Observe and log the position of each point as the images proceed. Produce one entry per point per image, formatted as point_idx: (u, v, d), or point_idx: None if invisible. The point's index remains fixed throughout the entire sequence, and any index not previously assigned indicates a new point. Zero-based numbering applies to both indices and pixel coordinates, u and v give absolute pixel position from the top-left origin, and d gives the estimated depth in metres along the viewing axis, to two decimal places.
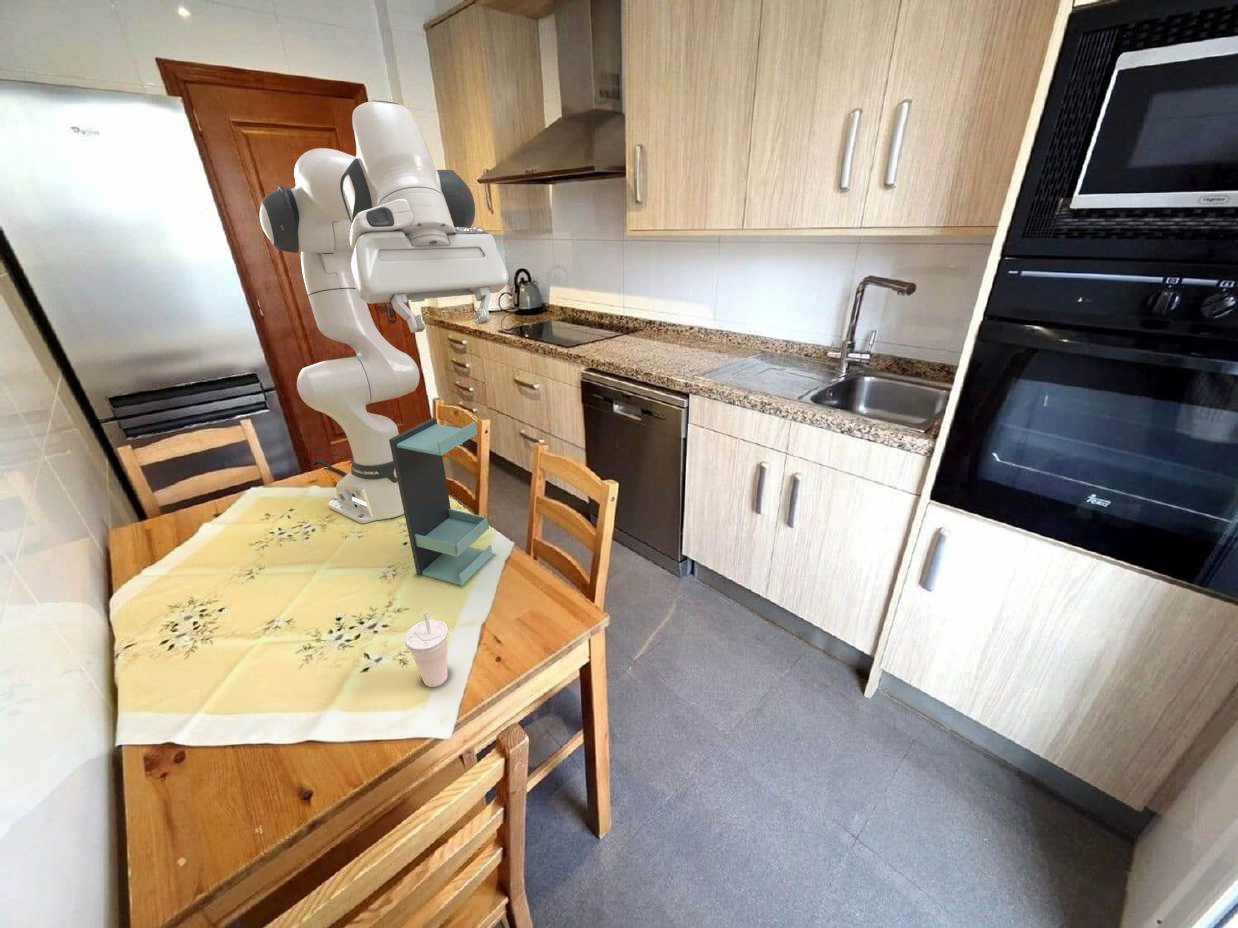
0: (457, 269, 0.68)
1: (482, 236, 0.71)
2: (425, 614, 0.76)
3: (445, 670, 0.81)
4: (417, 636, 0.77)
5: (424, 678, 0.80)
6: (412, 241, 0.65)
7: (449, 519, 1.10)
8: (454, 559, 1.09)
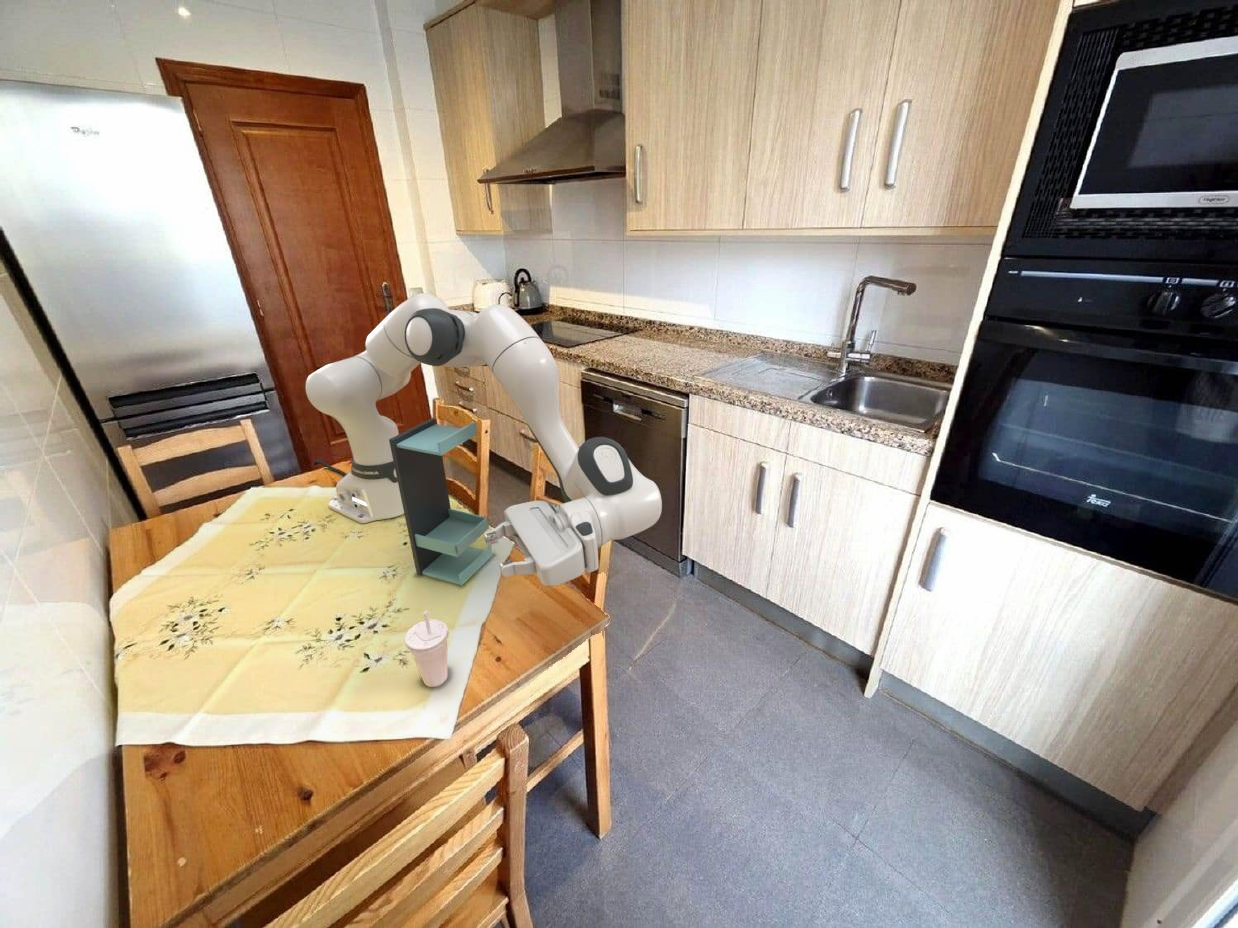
0: None
1: None
2: (425, 614, 0.76)
3: (445, 670, 0.81)
4: (417, 636, 0.77)
5: (424, 678, 0.80)
6: None
7: (449, 519, 1.10)
8: (454, 559, 1.09)
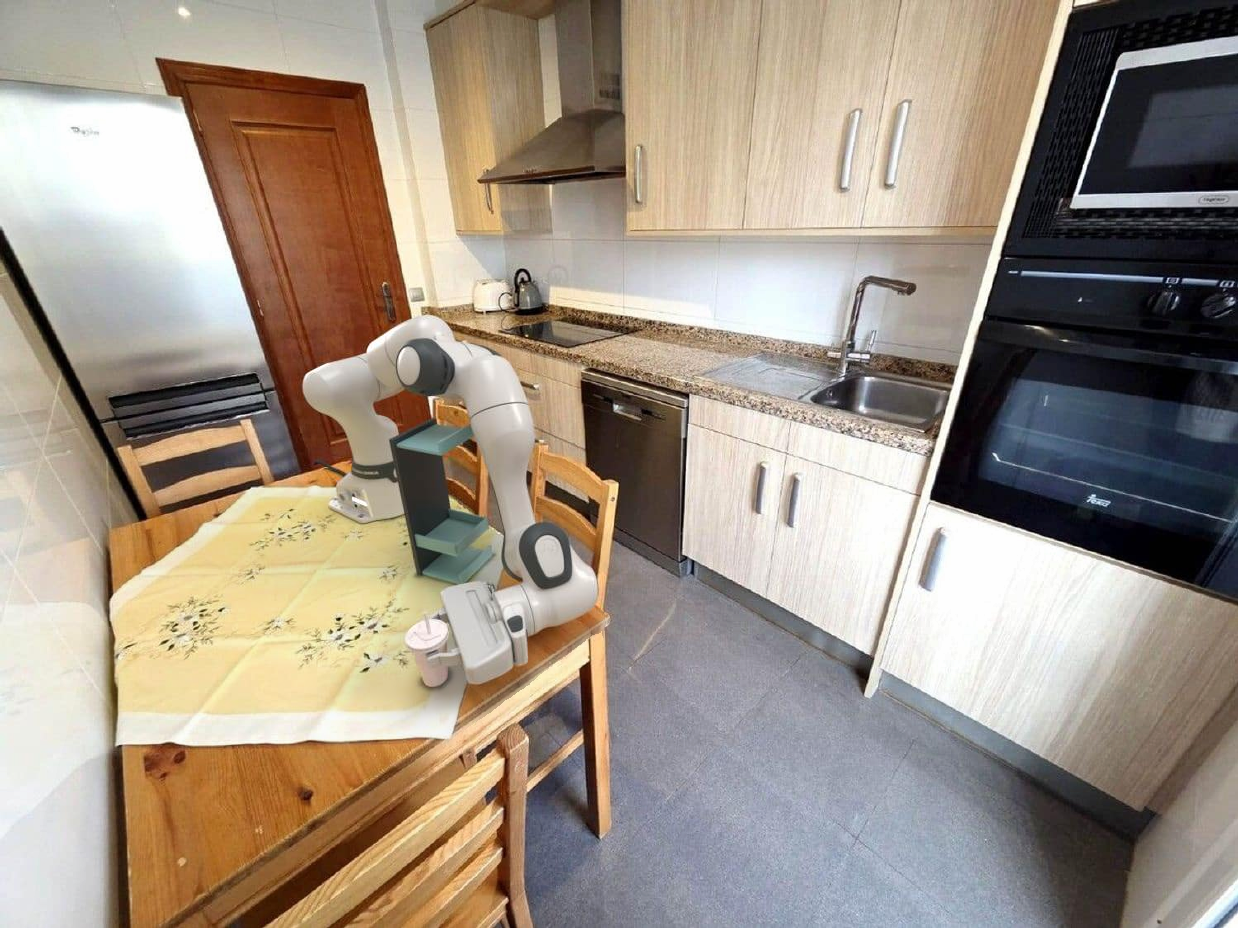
0: None
1: None
2: (425, 614, 0.76)
3: (445, 670, 0.81)
4: (417, 635, 0.77)
5: (424, 678, 0.80)
6: None
7: (449, 519, 1.10)
8: (454, 559, 1.09)
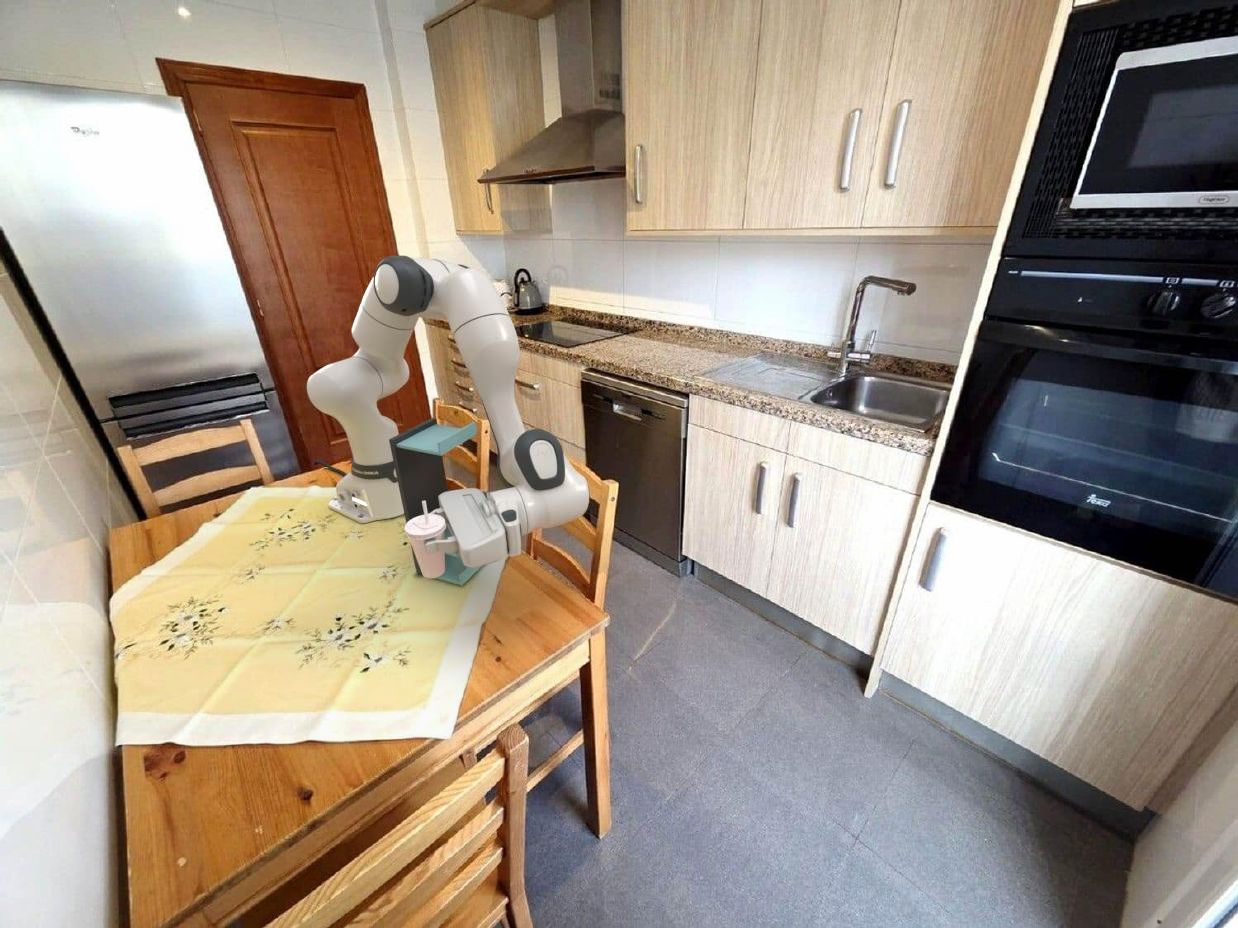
0: None
1: None
2: (423, 503, 0.80)
3: (443, 563, 0.85)
4: (416, 525, 0.81)
5: (423, 569, 0.84)
6: None
7: None
8: (454, 559, 1.09)
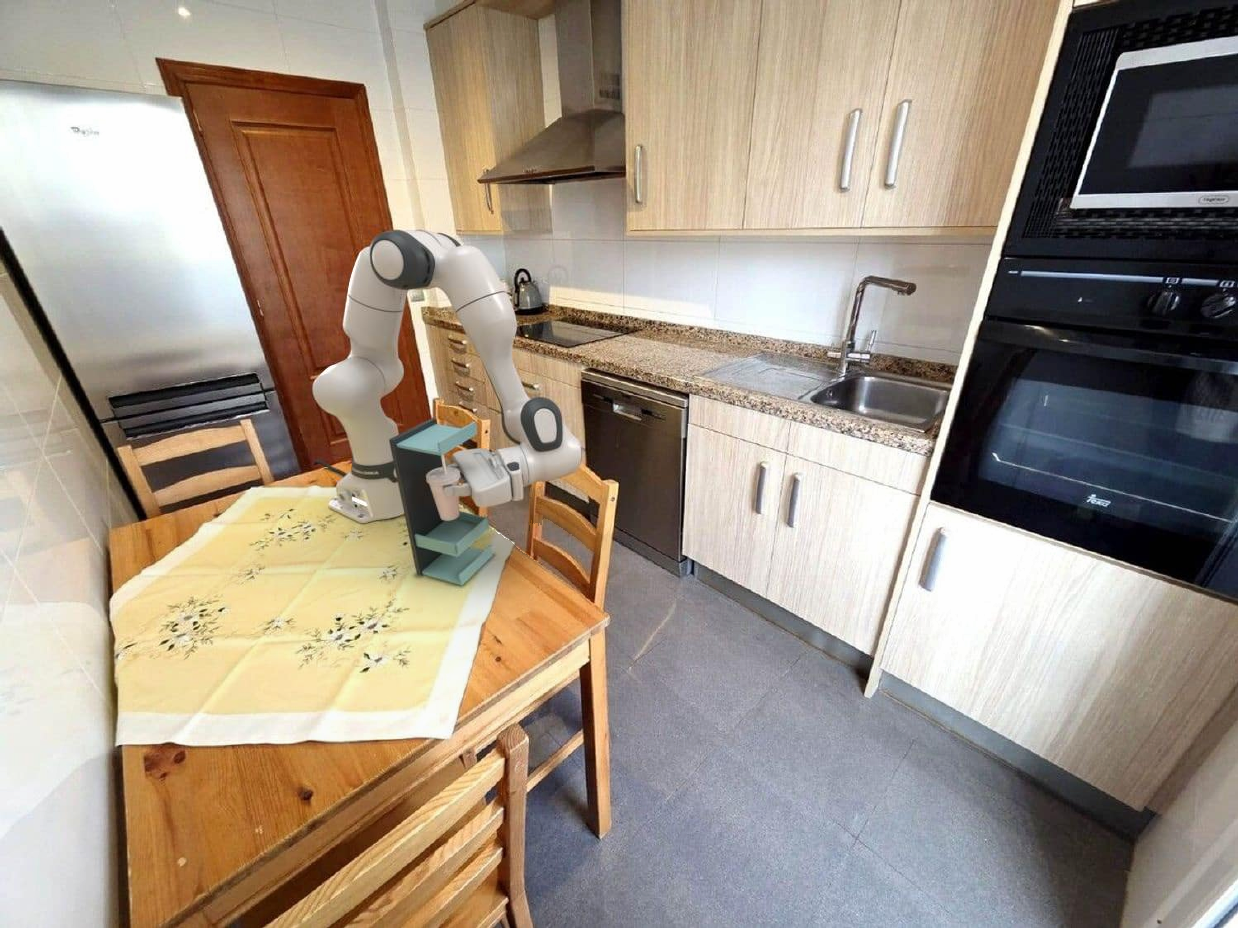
0: None
1: None
2: (442, 455, 0.96)
3: (457, 508, 1.01)
4: (436, 474, 0.98)
5: (441, 512, 1.00)
6: None
7: None
8: (454, 559, 1.09)
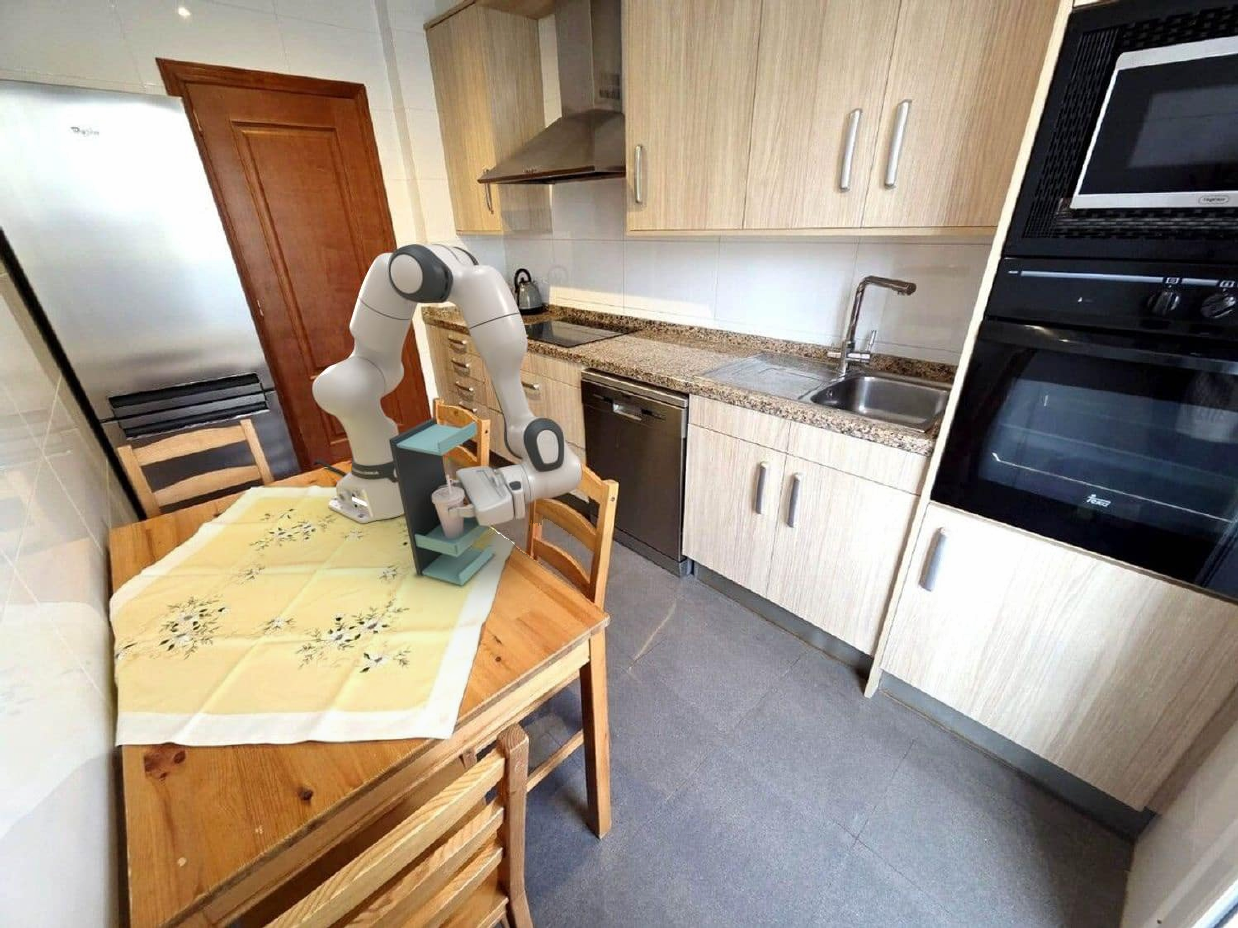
0: None
1: None
2: (447, 476, 0.99)
3: (462, 526, 1.04)
4: (441, 495, 1.00)
5: (445, 531, 1.03)
6: None
7: None
8: (454, 559, 1.09)
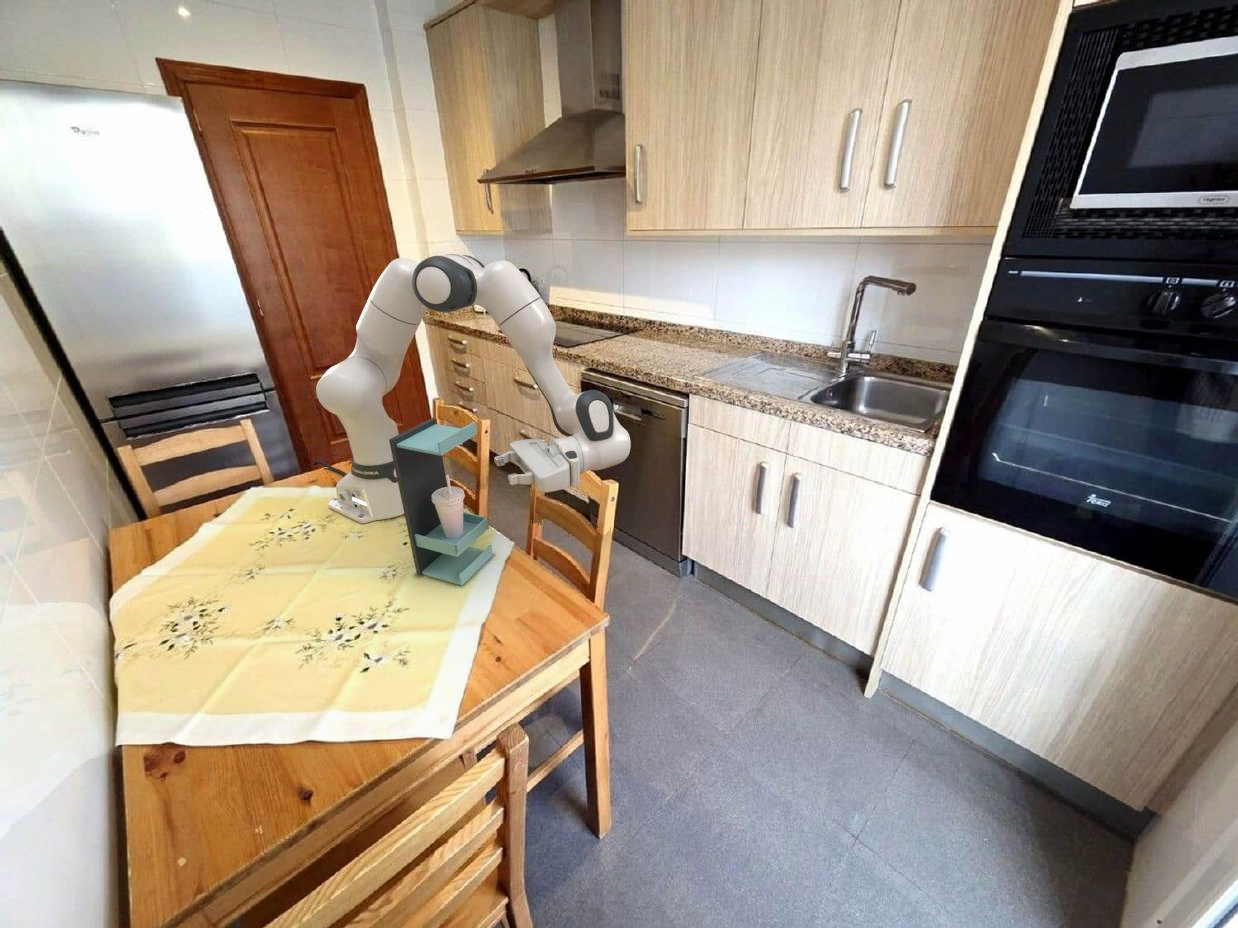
0: None
1: None
2: (447, 476, 0.99)
3: (462, 526, 1.04)
4: (441, 495, 1.00)
5: (445, 531, 1.03)
6: None
7: None
8: (454, 559, 1.09)
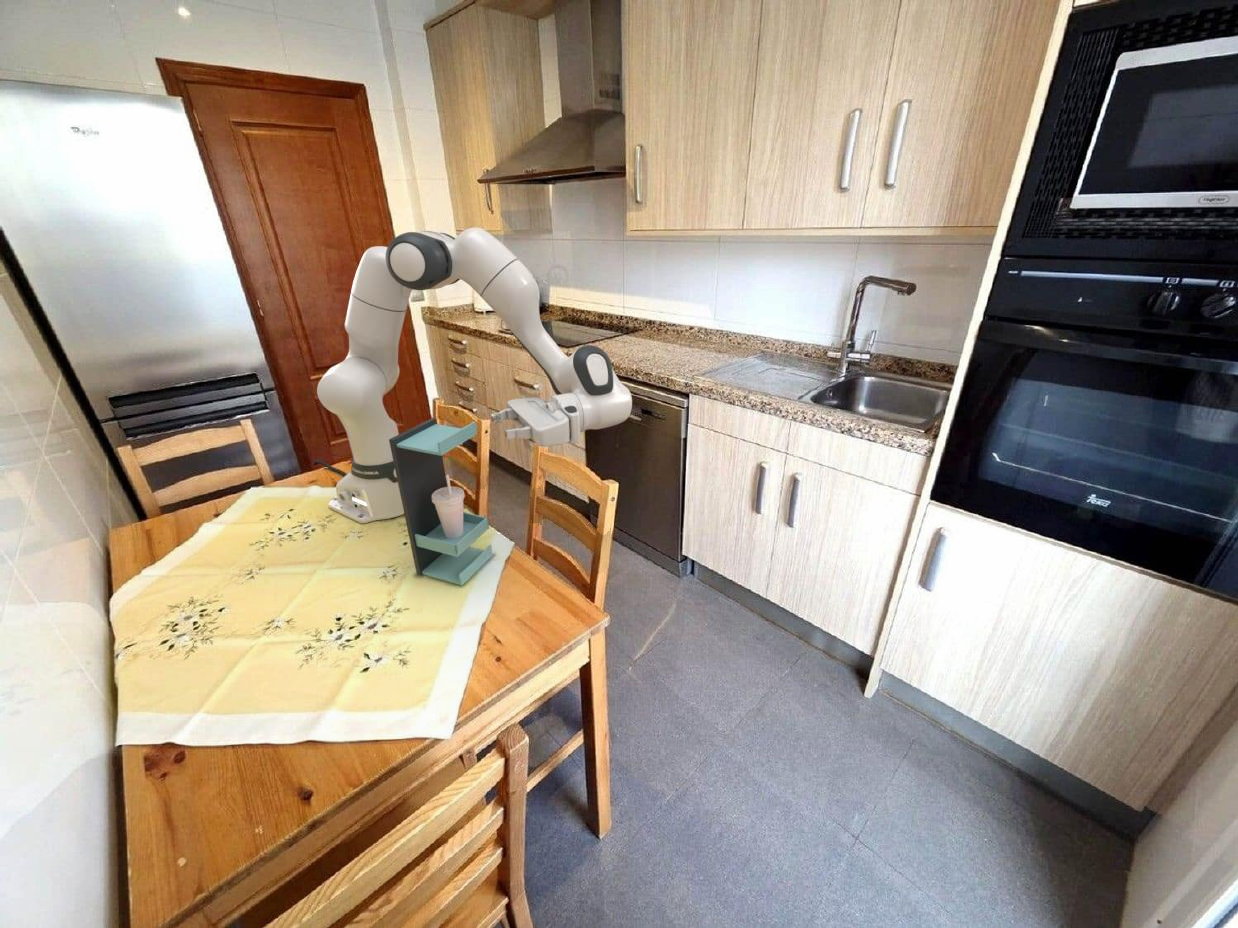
0: None
1: None
2: (447, 476, 0.99)
3: (462, 526, 1.04)
4: (441, 495, 1.00)
5: (445, 531, 1.03)
6: None
7: None
8: (454, 559, 1.09)
